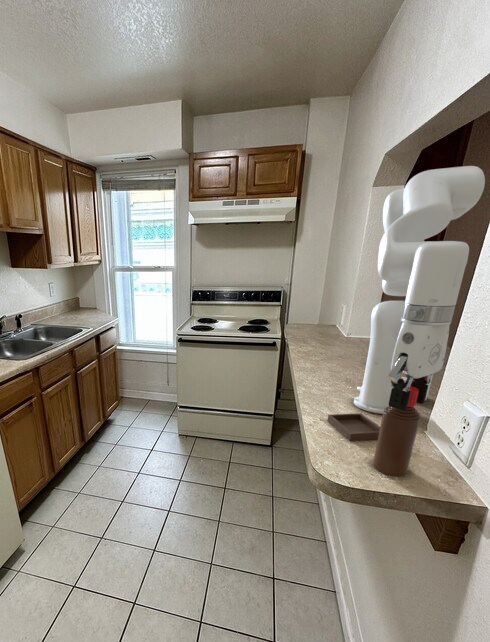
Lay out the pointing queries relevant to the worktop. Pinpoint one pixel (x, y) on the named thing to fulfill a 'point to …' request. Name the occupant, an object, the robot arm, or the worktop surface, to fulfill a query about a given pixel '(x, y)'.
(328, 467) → the worktop surface
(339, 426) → the tray
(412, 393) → the cap
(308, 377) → the worktop surface
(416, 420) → the sauce bottle
